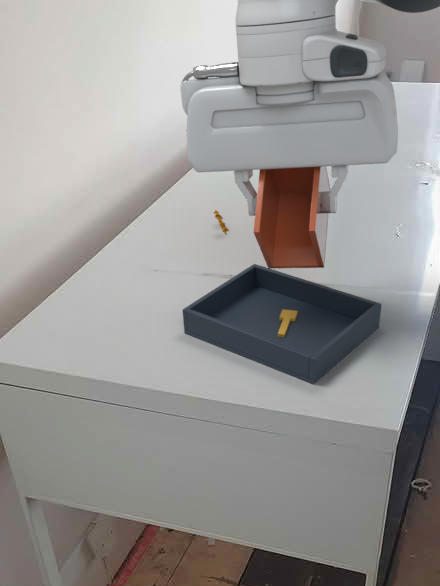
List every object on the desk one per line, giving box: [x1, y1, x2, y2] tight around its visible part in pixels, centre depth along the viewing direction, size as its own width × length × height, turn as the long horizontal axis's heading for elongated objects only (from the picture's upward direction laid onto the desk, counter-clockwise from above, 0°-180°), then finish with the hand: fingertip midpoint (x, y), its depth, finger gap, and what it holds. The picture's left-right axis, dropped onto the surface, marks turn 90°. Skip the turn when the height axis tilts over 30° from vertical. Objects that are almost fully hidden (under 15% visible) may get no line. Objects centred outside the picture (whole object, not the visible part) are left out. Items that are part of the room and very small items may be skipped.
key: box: [278, 310, 298, 337], centre depth 80 cm, size 5×2×1 cm, turn 165°
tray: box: [182, 263, 382, 385], centre depth 79 cm, size 17×13×3 cm
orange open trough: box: [253, 166, 332, 270], centre depth 73 cm, size 9×6×8 cm
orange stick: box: [213, 209, 229, 235], centre depth 101 cm, size 8×1×1 cm, turn 11°
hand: (293, 213), depth 73 cm, fingers closed on orange open trough, 6 cm apart
